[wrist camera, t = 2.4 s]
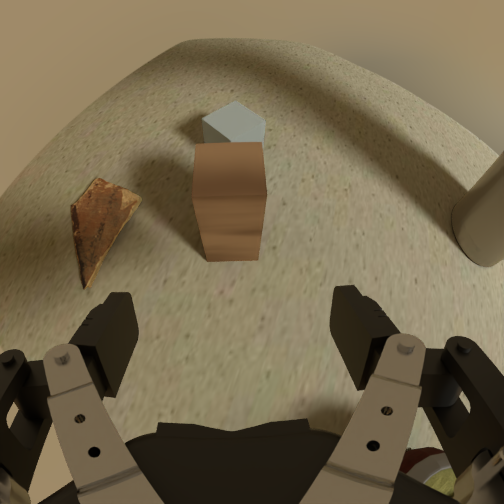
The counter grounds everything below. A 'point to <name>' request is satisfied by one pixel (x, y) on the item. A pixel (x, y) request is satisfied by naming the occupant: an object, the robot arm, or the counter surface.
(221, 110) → the grey-blue block
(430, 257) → the counter surface
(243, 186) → the walnut block
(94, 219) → the shard
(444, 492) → the mate gourd
